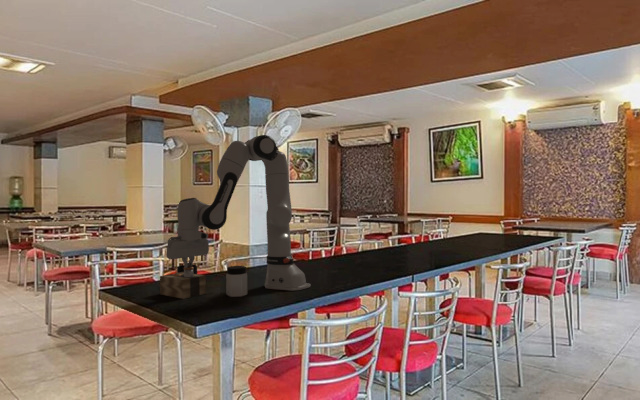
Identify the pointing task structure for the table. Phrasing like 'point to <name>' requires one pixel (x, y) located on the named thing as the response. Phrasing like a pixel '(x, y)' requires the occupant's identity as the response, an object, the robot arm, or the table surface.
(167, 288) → the oak block
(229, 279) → the jar
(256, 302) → the table surface
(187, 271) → the copper domed cylinder
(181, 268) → the mug
